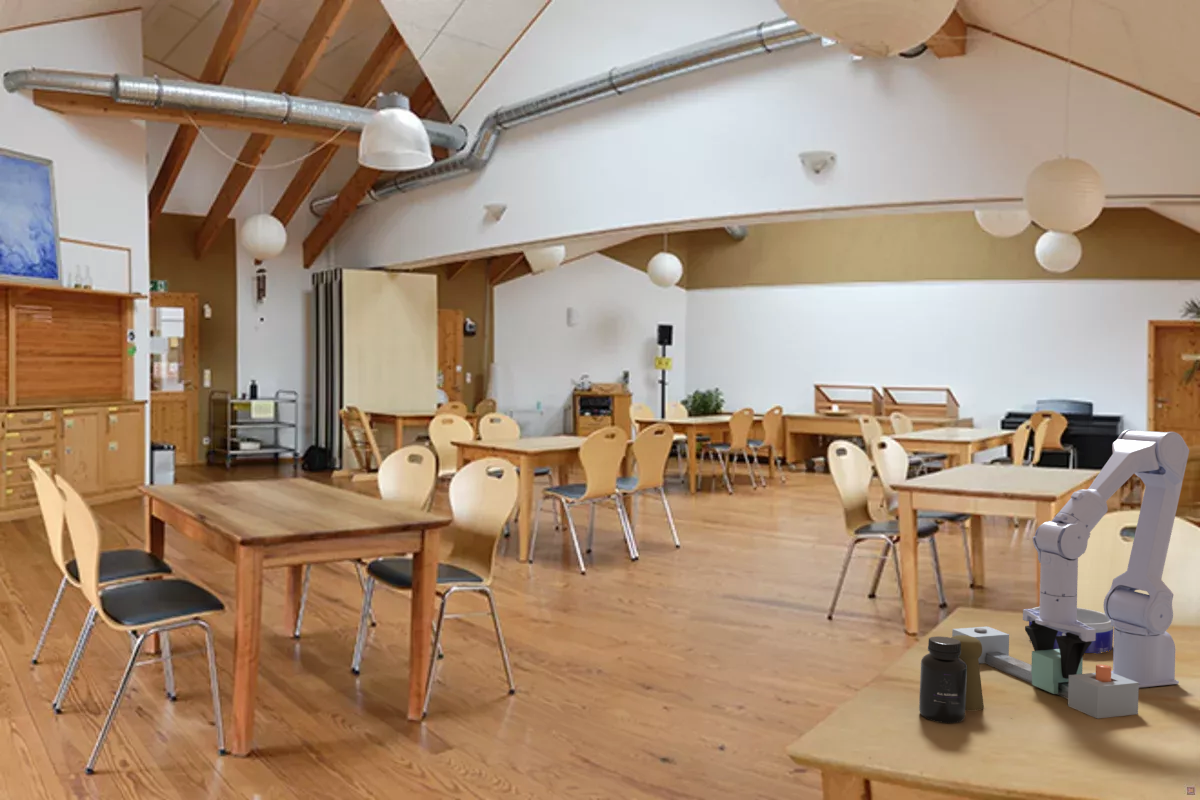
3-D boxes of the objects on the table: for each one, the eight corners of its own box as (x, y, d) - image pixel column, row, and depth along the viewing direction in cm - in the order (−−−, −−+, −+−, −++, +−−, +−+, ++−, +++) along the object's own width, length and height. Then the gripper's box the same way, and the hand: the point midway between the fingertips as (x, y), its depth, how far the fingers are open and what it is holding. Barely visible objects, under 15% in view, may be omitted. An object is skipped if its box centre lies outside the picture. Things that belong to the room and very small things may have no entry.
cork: (987, 712, 152) (988, 642, 152) (947, 708, 153) (948, 640, 153) (980, 699, 158) (981, 633, 158) (941, 696, 159) (942, 630, 159)
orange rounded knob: (1103, 688, 155) (1103, 663, 155) (1114, 692, 153) (1114, 667, 153) (1092, 689, 154) (1092, 664, 154) (1102, 694, 152) (1103, 668, 152)
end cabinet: (1107, 701, 158) (1108, 671, 157) (1137, 714, 152) (1138, 682, 152) (1068, 705, 155) (1068, 675, 155) (1096, 718, 149) (1097, 686, 149)
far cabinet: (987, 652, 186) (987, 624, 186) (1008, 660, 180) (1009, 632, 180) (951, 655, 183) (952, 626, 183) (972, 664, 178) (973, 635, 178)
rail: (999, 662, 179) (999, 651, 179) (1090, 700, 158) (1091, 688, 158) (985, 663, 178) (985, 653, 178) (1075, 702, 157) (1076, 690, 157)
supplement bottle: (943, 727, 145) (945, 648, 145) (909, 712, 151) (911, 637, 151) (975, 720, 148) (977, 642, 148) (941, 706, 154) (942, 632, 154)
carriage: (1059, 682, 166) (1060, 648, 166) (1081, 691, 162) (1082, 656, 161) (1031, 684, 165) (1031, 651, 164) (1052, 694, 160) (1053, 659, 160)
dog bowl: (1034, 650, 188) (1034, 619, 188) (1023, 631, 203) (1024, 602, 203) (1120, 658, 184) (1121, 626, 184) (1103, 637, 198) (1104, 608, 198)
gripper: (1009, 585, 169) (1007, 662, 169) (1071, 604, 155) (1069, 687, 155) (1042, 583, 171) (1040, 659, 171) (1106, 601, 157) (1104, 684, 157)
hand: (1056, 672), depth 163 cm, fingers closed on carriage, 5 cm apart
